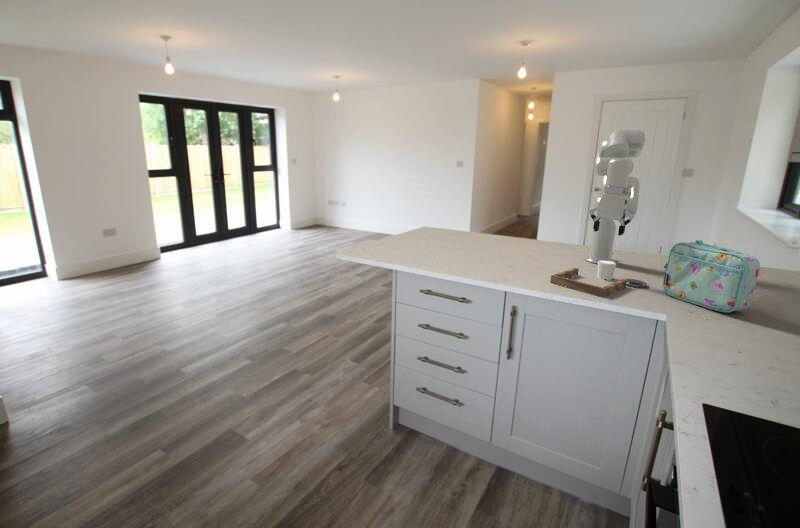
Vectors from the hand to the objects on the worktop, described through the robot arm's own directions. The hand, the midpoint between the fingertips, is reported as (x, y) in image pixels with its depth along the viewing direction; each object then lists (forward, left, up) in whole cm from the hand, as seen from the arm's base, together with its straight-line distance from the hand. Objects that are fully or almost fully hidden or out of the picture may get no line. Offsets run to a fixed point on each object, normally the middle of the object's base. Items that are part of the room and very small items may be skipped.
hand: (607, 233), depth 166 cm
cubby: (+14, +2, -19) cm, 24 cm away
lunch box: (+2, +36, -19) cm, 41 cm away
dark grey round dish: (-1, +13, -19) cm, 23 cm away
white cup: (0, +2, -19) cm, 19 cm away
